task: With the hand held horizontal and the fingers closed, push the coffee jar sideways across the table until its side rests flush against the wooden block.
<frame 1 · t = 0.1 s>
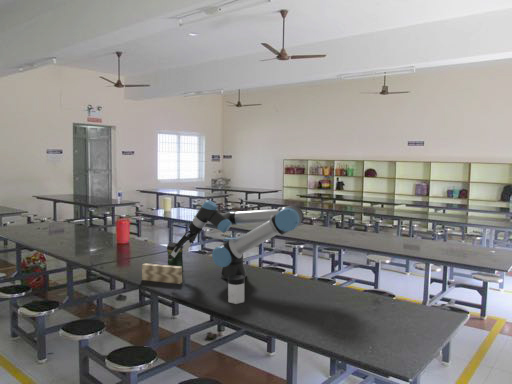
hand: (178, 253, 236), 15 cm above the table, tool tilted 35°, fingers open, 13 cm apart
wooden block: (162, 281, 233), on the table
jar: (236, 301, 202), on the table
coffee jar: (175, 273, 248), on the table
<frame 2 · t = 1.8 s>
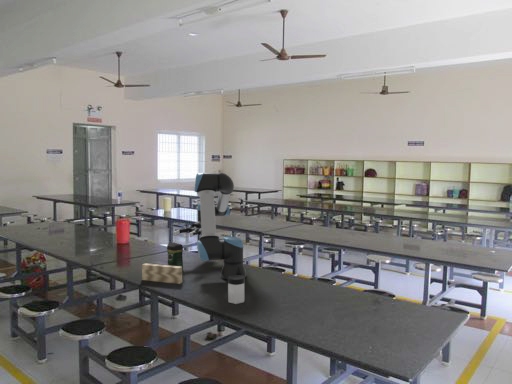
hand: (182, 234, 255), 22 cm above the table, tool horizontal, fingers open, 10 cm apart
nothing on the table moved.
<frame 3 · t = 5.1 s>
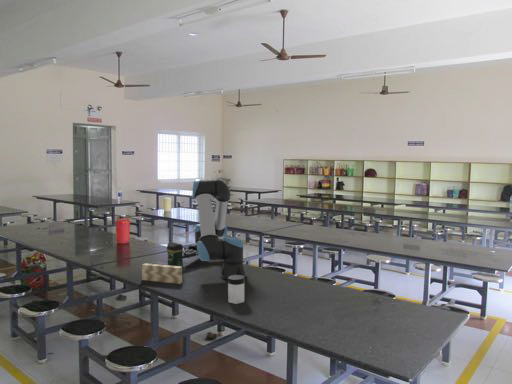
hand: (177, 258, 252), 8 cm above the table, tool horizontal, fingers closed
coffee jar: (175, 273, 248), on the table, touching gripper
everything else where it was.
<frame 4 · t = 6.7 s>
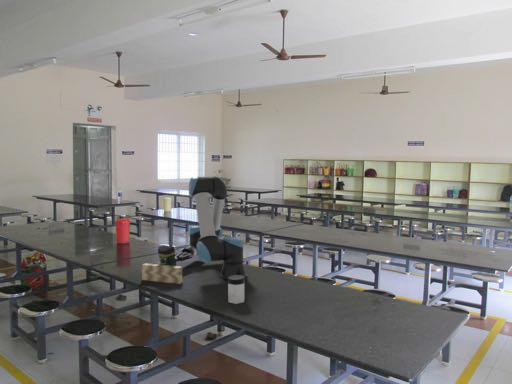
hand: (170, 261, 243), 8 cm above the table, tool horizontal, fingers closed
coffee jar: (170, 275, 241), on the table, touching gripper
everything else where it was.
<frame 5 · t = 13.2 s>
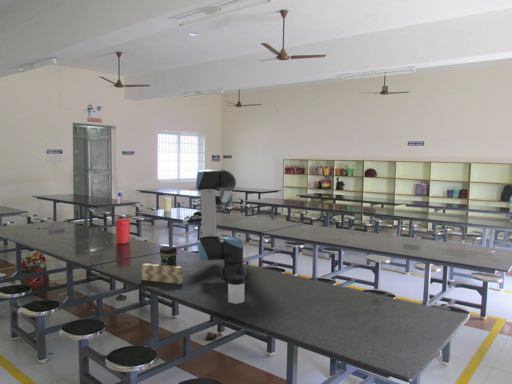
hand: (183, 222, 253), 30 cm above the table, tool horizontal, fingers closed
coffee jar: (169, 277, 240), on the table
everything else where it was.
at the end: coffee jar inside the target area on the table beside the wooden block (0.6 cm from its centre), on the table; coffee jar tilted 0° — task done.
